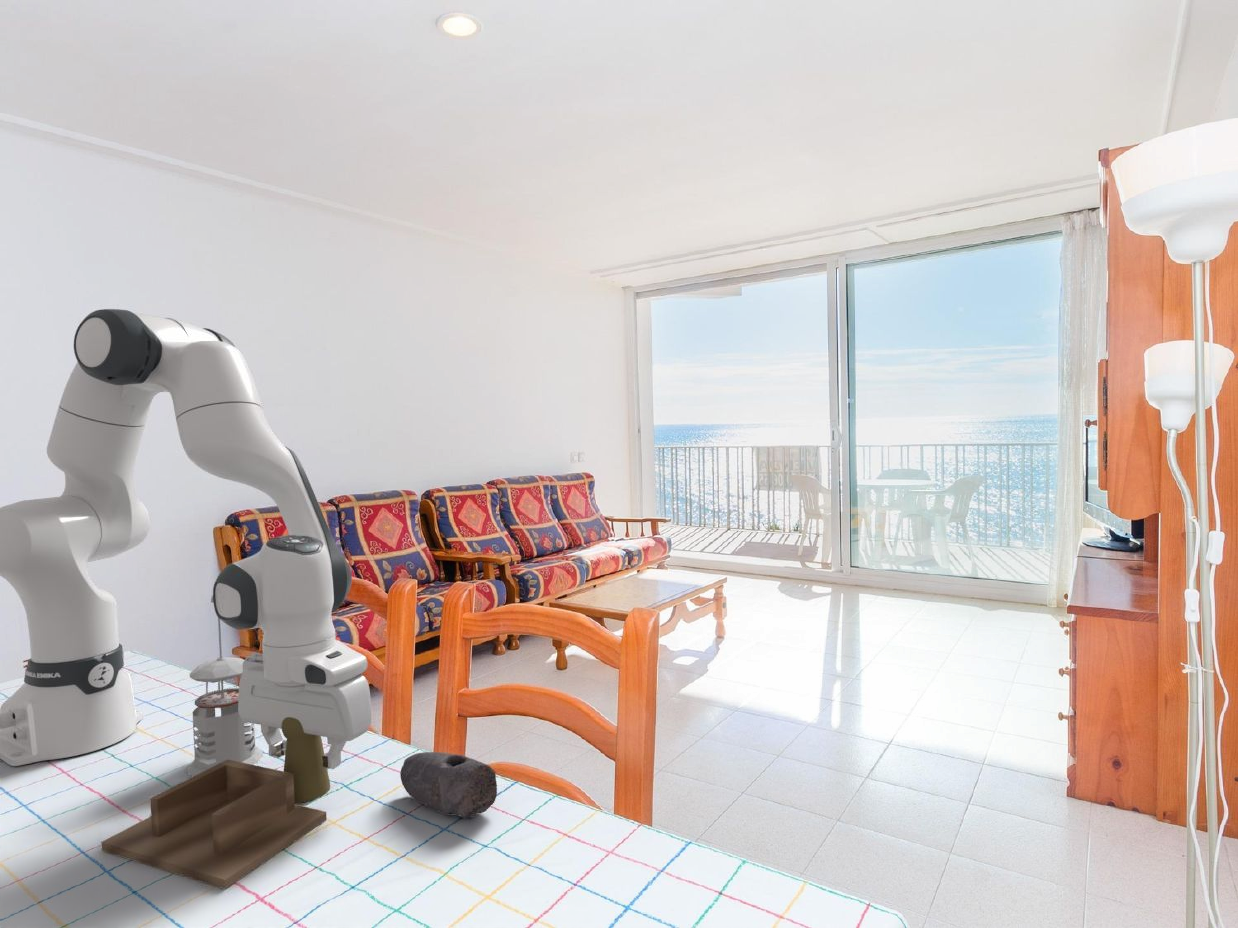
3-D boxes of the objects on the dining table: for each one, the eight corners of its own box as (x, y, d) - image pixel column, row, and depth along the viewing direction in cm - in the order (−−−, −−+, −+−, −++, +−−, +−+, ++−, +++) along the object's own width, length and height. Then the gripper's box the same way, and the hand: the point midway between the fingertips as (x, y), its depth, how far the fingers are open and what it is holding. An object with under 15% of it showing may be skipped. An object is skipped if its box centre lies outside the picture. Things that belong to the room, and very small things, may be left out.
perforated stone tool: (388, 800, 91) (386, 748, 91) (419, 783, 95) (417, 733, 95) (472, 834, 83) (470, 777, 83) (502, 813, 87) (500, 759, 87)
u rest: (101, 850, 81) (99, 803, 81) (211, 791, 94) (209, 751, 94) (225, 888, 74) (223, 838, 73) (326, 819, 87) (324, 776, 86)
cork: (312, 804, 90) (308, 721, 90) (270, 800, 91) (266, 718, 91) (339, 781, 96) (336, 703, 96) (300, 778, 97) (297, 700, 97)
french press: (194, 785, 96) (185, 605, 95) (178, 756, 105) (170, 591, 104) (271, 761, 103) (263, 592, 101) (250, 736, 111) (243, 581, 110)
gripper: (223, 658, 94) (227, 759, 95) (341, 675, 86) (346, 784, 87) (262, 644, 100) (267, 739, 100) (377, 659, 92) (381, 762, 93)
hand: (304, 760), depth 94 cm, fingers open, 8 cm apart
